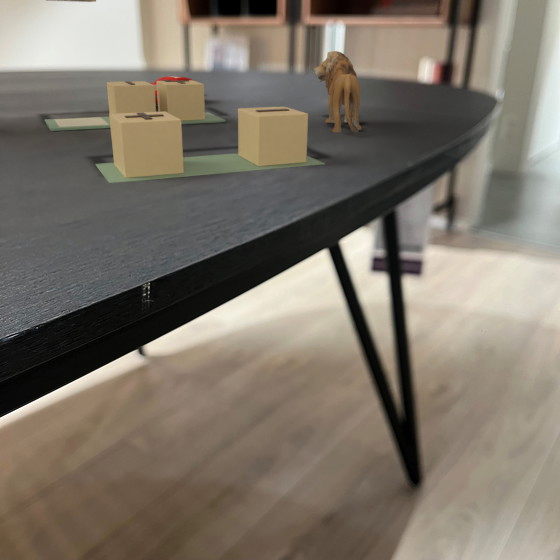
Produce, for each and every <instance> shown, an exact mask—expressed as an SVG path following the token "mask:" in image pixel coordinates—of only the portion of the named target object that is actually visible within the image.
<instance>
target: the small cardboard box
mask: <svg viewBox="0 0 560 560" xmlns="http://www.w3.org/2000/svg"><path fill="white" fill-rule="evenodd" d="M45 1H46V2H47V1H48V2H72V3H73V2H75V3H76V2H77V3H94V2H97V0H45Z"/></svg>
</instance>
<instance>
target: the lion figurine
mask: <svg viewBox="0 0 560 560" xmlns="http://www.w3.org/2000/svg"><path fill="white" fill-rule="evenodd" d="M313 71H314V72H315V73H314V74H315V75H316V77H317V80H318V82H320V83H322V82H325V84H324V85H325V88H326V91H327V93H328V110H329V111H328V113H329V117H328V118H326V119H325V121H324V122H325V123H326V124H334V127H333V128H332V129H331V132H332V133H337V134H339V133H340V134H341V133H342V115H341V108H342V105H343V106H344V117H343V121H344V123H346V124H348V126H349V129H350V131H351V132H353V133H354V134H357V133H359V131H362V129H363V128H362V126H361V125H360V122H359V121H360V119H359V111H360V105H361V86H360V83H359V79H358V75H357V72H356V70H355V68H354V65H353V64H352V62H351V60H350V59H349V57H347V56H346V55H345V53H342V52H341V51H338V50H332V51H328V52H327V56H326V59H325V60H324V61H322V62H321V64H319V65H317V66H316V67H314V69H313Z"/></svg>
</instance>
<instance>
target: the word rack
mask: <svg viewBox="0 0 560 560" xmlns="http://www.w3.org/2000/svg"><path fill="white" fill-rule="evenodd" d="M193 80H194V79H192V80H175V81H157V80H156V81H157V97H158V105H157V106H156V103H155V87H154V85H152V84H150V83H151V82H147V81H145V80H141V81H128V80H126V81H125V80H124V81H106V91H107V102H108V112H109V114H115V113H139V112H163V111H165V112H167V113H169V114H171V115H173V116H175V117H177V118H178V119H180V120H181V125H194V124H195V125H196V124H215V123H226V119H225V118H222V117H220V116H218V115H216V114H213V113H211V112H206V108H205V107H206V106H205V105H206V104H205V84H204V83H202V82H199V81H196V80H194V81H193ZM157 110H158V111H157ZM44 123H45V124H46V126H47V128H48V129H49V131H50V132H57V131H58V132H59V131H78V130H79V131H80V130H97V129H98V130H100V129H111V127H110V117H109V116H96V117H95V116H93V117H71V118H68V117H67V118H49V119H46V118H45V119H44Z"/></svg>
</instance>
